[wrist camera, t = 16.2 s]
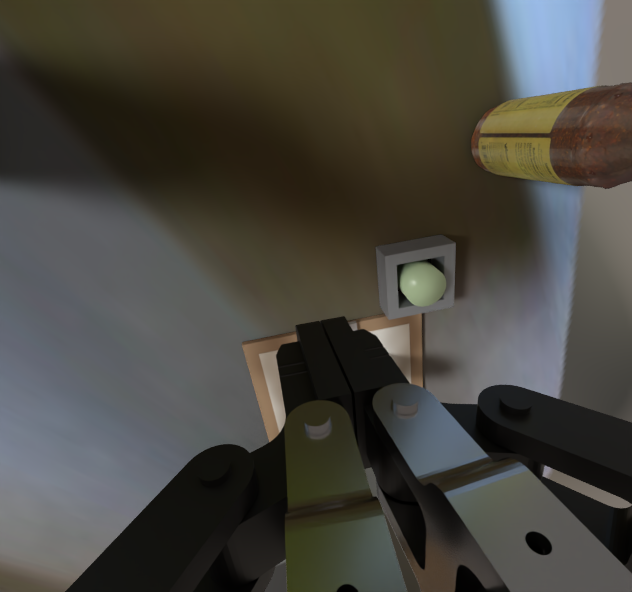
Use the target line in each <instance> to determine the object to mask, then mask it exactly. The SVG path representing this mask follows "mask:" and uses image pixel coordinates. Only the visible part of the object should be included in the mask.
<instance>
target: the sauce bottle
mask: <svg viewBox="0 0 632 592" xmlns="http://www.w3.org/2000/svg"><path fill="white" fill-rule="evenodd" d="M471 149H472V153H473V157H474V160H475V162H476V163H477V165H478V166H479V167H481V168H483V169H484V170H486V171H488V172H491V173H494V174H497V175H501V176H508V177H516V178H523V179H529V180H537V181H544V182H551V183H559V184H566V185H574V186H594V187H603V188H605V189H607V188H608V189H609V188H612V187H615V186H617V185H620V184H623V183H626V182H630V181H632V83H622V84H619V85H614V86H596V87H590V88H584V89H578V90H572V91H566V92H560V93H554V94H547V95H541V96H534V97H527V98H521V99H515V100H509V101H507V102H505V103H503V104H501V105H498V106H496V107H495V108H492V109H490V110H488V111H487V112H486V113H485V114H484V115H483V117H482V118H481V119H480V120H479V122H478V124H477V126H476V128H475V131H474V133H473V135H472V138H471Z"/></svg>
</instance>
